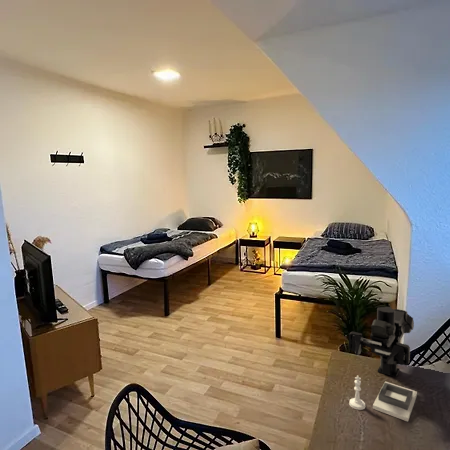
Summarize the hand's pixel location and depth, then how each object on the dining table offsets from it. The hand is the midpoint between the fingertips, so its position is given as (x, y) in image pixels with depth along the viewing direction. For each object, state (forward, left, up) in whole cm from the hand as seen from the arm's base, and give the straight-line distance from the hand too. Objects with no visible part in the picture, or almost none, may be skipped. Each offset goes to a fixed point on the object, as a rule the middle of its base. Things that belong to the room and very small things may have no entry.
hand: (371, 357), depth 104 cm
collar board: (-7, +6, -16) cm, 19 cm away
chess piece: (+2, -3, -17) cm, 17 cm away
